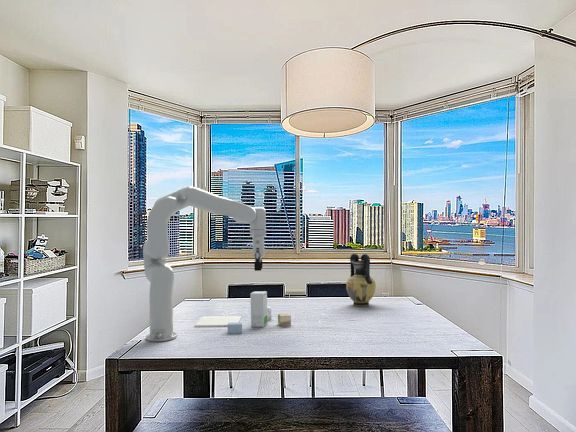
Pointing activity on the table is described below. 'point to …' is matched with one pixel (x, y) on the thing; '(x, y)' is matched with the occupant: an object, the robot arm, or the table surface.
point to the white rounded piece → (268, 313)
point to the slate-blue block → (234, 327)
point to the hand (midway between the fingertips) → (258, 269)
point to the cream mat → (216, 321)
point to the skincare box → (258, 309)
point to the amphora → (360, 281)
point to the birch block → (284, 319)
